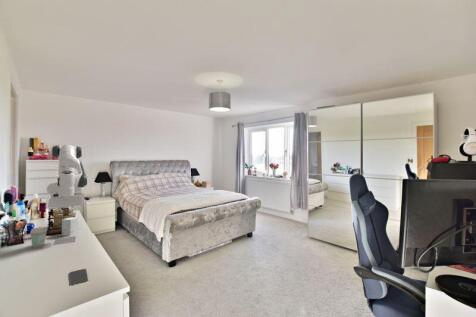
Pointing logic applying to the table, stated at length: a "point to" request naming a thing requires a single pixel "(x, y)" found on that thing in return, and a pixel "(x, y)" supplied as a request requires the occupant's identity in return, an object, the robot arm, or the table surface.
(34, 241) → the coffee cup
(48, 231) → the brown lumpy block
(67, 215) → the lid
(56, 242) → the mat
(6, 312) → the table surface
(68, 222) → the supplement box
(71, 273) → the smartphone
